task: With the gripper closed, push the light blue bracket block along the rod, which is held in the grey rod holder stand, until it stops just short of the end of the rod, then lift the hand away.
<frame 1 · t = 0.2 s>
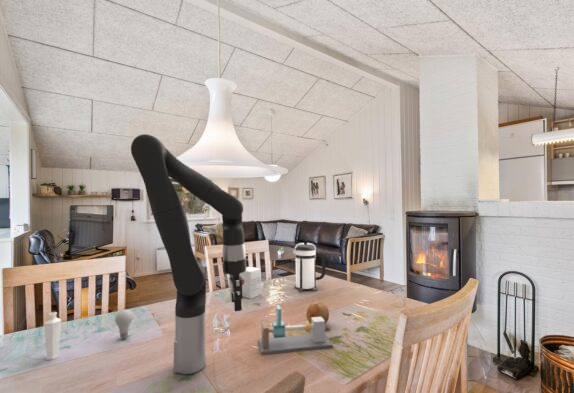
hand: (236, 306, 99), 18 cm above the table, tool pointing down, fingers open, 8 cm apart
light blue bracket block: (278, 321, 108), point 9 cm above the table, slide at 0.0 cm
perfume bottle: (53, 357, 101), on the table
onion: (317, 326, 126), on the table
coffee press: (307, 288, 178), on the table
grey rod holder stand: (294, 344, 109), on the table
supplement box: (249, 295, 166), on the table
lightbulb: (124, 339, 114), on the table
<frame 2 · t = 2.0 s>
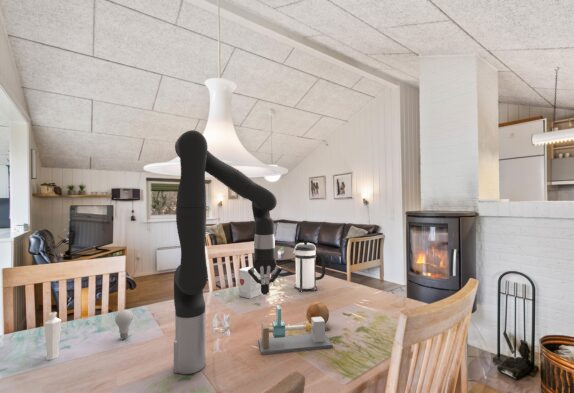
hand: (265, 294, 108), 19 cm above the table, tool pointing down, fingers closed
nothing on the table moved.
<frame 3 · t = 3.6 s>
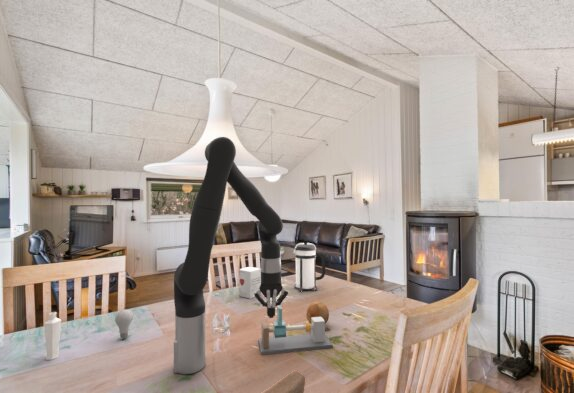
hand: (271, 317, 108), 11 cm above the table, tool pointing down, fingers closed
light blue bracket block: (279, 320, 108), point 9 cm above the table, slide at 0.3 cm, touching gripper
everything else where it was.
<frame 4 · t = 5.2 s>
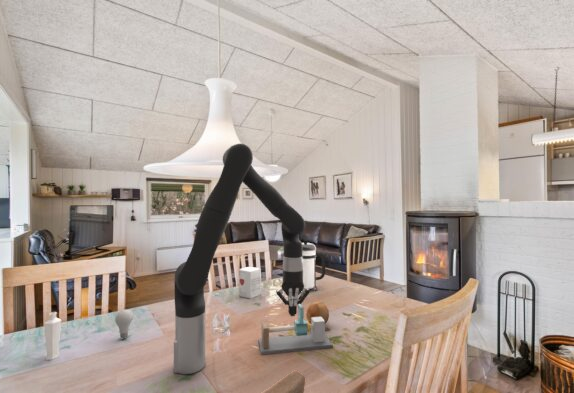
hand: (292, 315, 110), 11 cm above the table, tool pointing down, fingers closed
light blue bracket block: (300, 319, 110), point 9 cm above the table, slide at 8.3 cm, touching gripper
everything else where it was.
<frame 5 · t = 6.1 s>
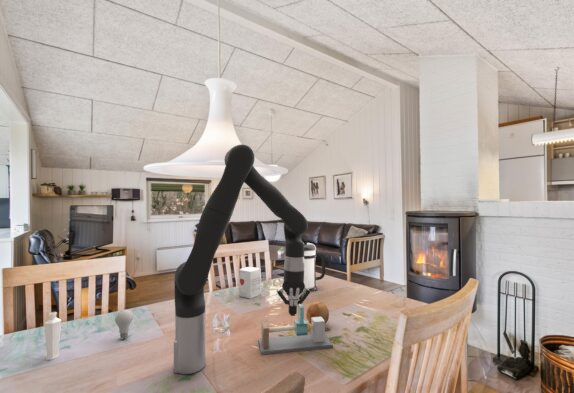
hand: (292, 315, 110), 11 cm above the table, tool pointing down, fingers closed
light blue bracket block: (300, 319, 110), point 9 cm above the table, slide at 8.4 cm, touching grey rod holder stand, gripper
everything else where it was.
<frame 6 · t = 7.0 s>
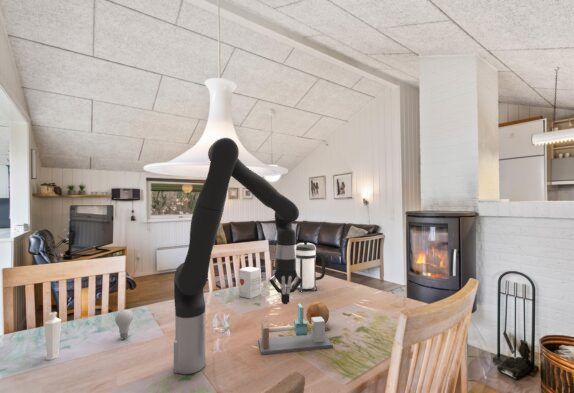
hand: (285, 303, 109), 15 cm above the table, tool pointing down, fingers closed
light blue bracket block: (300, 319, 110), point 9 cm above the table, slide at 8.3 cm
everything else where it was.
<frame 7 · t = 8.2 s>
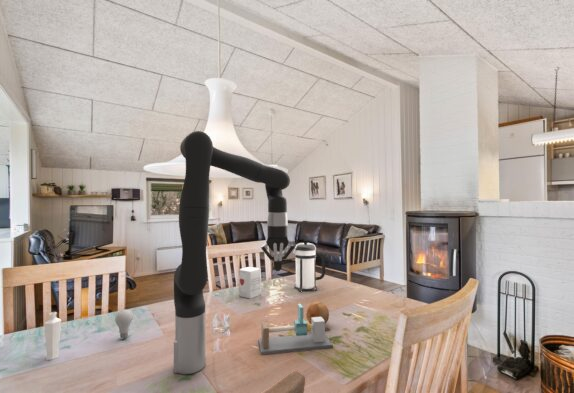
hand: (277, 270, 111), 27 cm above the table, tool pointing down, fingers closed
nothing on the table moved.
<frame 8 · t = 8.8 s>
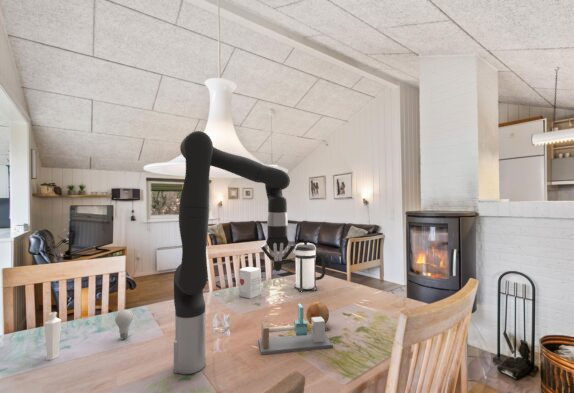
hand: (277, 270, 111), 27 cm above the table, tool pointing down, fingers closed
nothing on the table moved.
at the end: light blue bracket block slide at 8.3 cm; onion moved 0.2 cm from its start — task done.
